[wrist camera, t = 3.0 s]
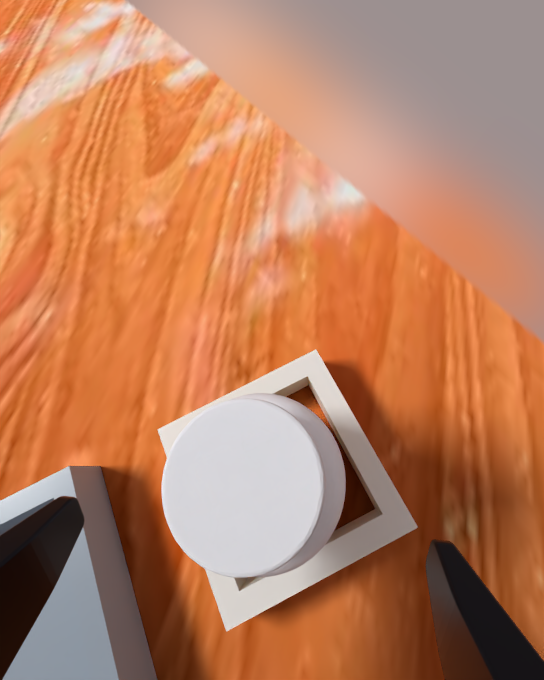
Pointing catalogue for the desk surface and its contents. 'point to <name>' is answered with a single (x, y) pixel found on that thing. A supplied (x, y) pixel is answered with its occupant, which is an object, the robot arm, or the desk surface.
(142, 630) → the tray
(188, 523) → the supplement bottle
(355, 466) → the holder collar
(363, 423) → the desk surface
